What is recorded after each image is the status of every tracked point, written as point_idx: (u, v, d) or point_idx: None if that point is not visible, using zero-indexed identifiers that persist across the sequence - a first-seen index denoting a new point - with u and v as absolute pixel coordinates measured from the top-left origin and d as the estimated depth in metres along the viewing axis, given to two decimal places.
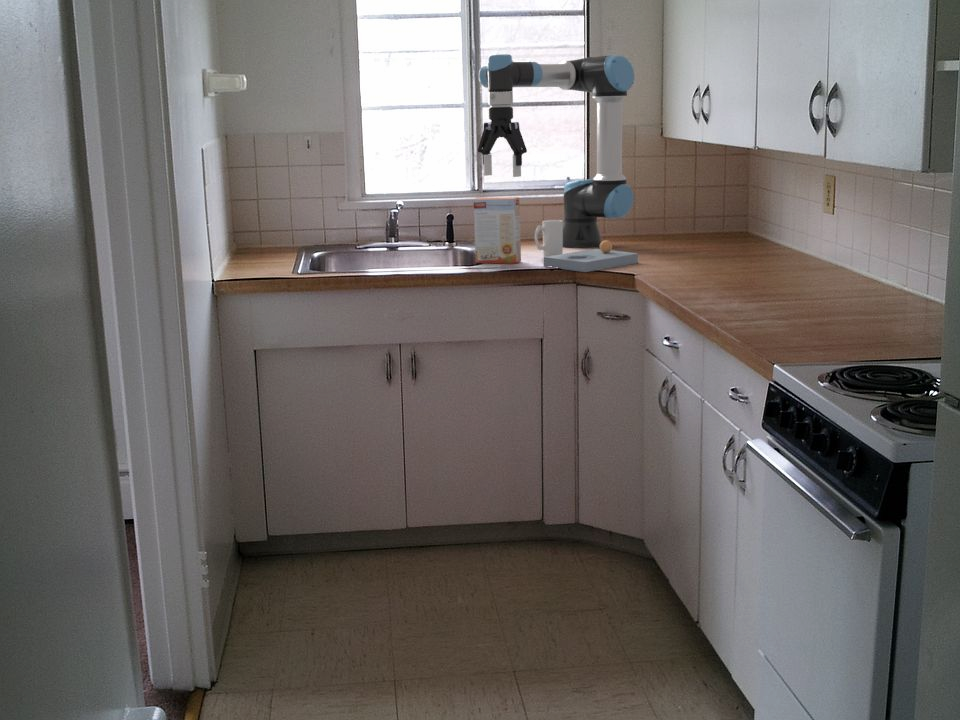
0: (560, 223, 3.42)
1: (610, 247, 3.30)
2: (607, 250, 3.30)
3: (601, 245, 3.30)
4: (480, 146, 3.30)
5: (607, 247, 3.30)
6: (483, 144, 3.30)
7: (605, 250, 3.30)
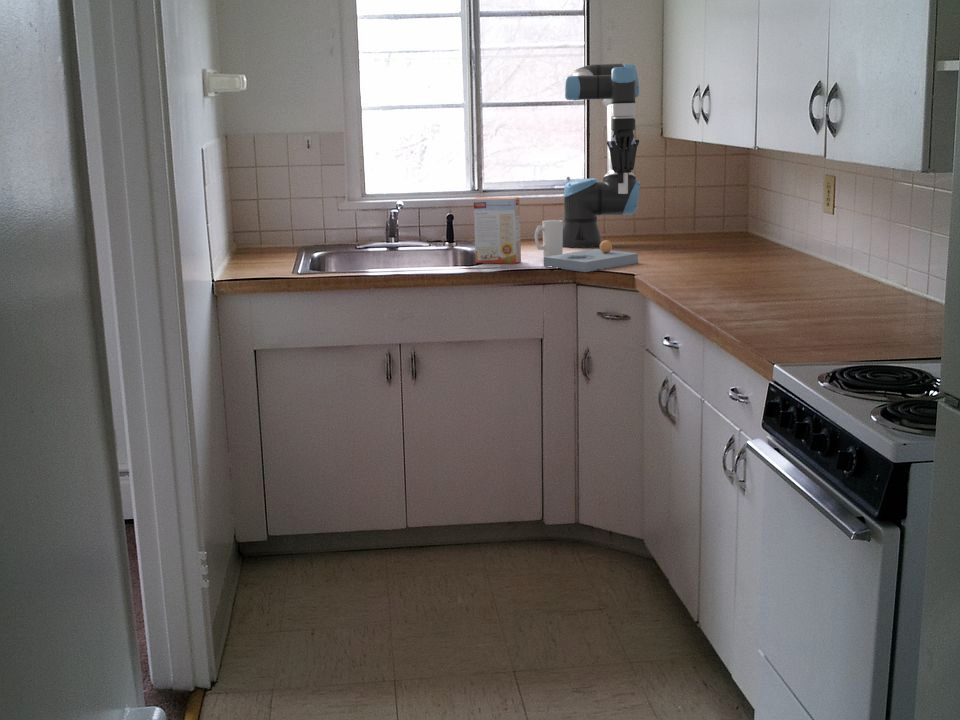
0: (560, 223, 3.42)
1: (610, 247, 3.30)
2: (607, 250, 3.30)
3: (601, 245, 3.30)
4: None
5: (607, 247, 3.30)
6: None
7: (605, 250, 3.30)
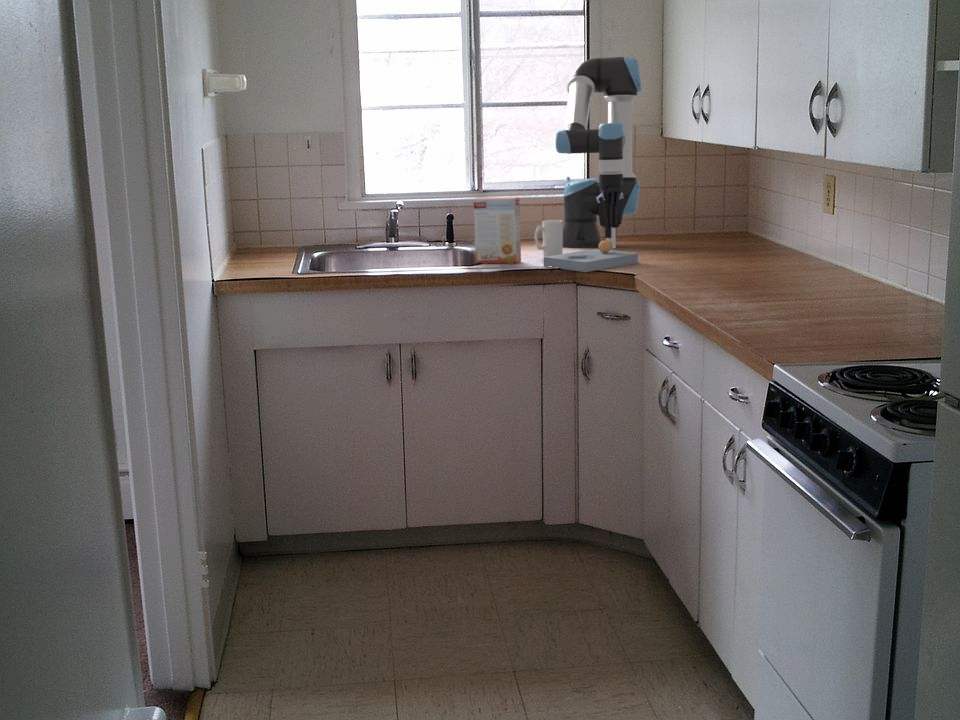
0: (560, 223, 3.42)
1: (609, 247, 3.30)
2: (606, 251, 3.30)
3: (600, 247, 3.30)
4: None
5: (606, 248, 3.29)
6: None
7: (604, 251, 3.30)
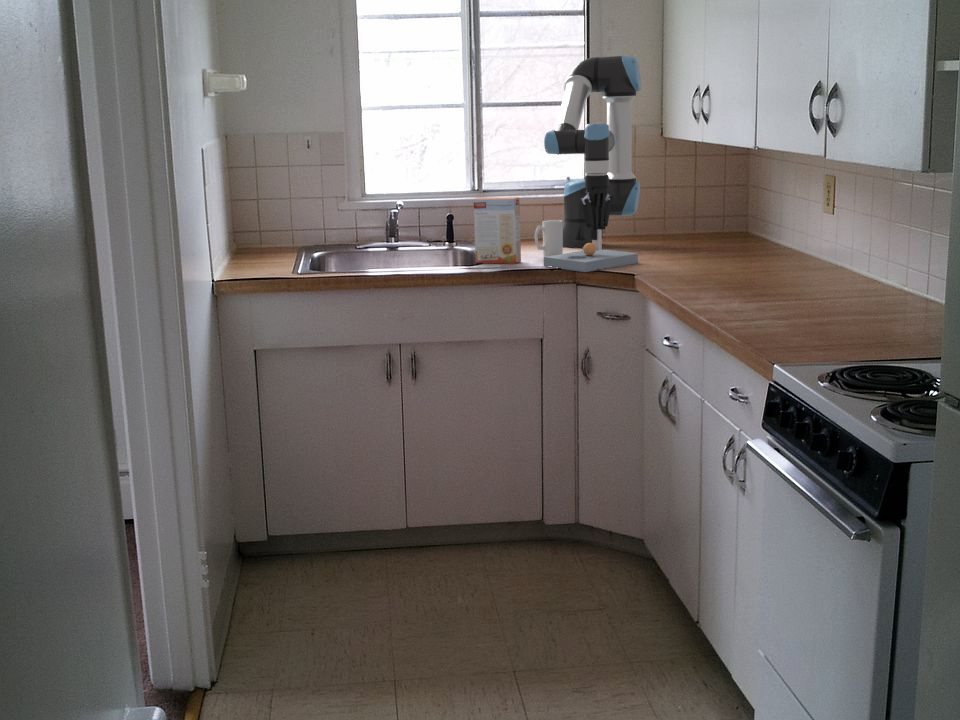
0: (560, 223, 3.42)
1: (594, 249, 3.25)
2: (592, 245, 3.25)
3: None
4: None
5: None
6: None
7: (592, 244, 3.26)
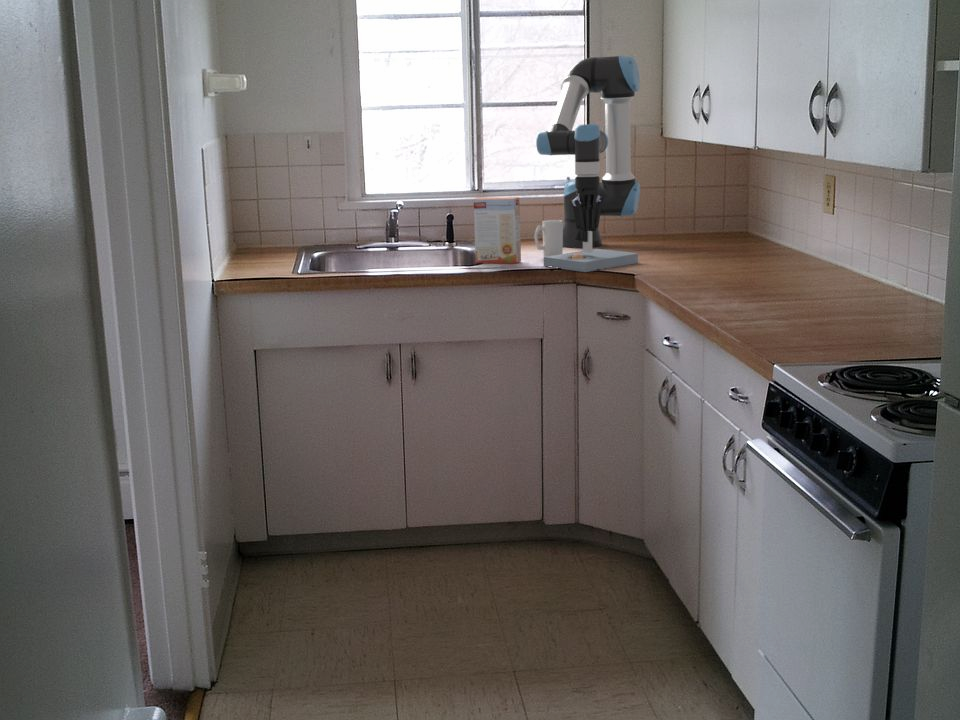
0: (560, 223, 3.42)
1: (582, 258, 3.24)
2: None
3: None
4: None
5: None
6: None
7: None
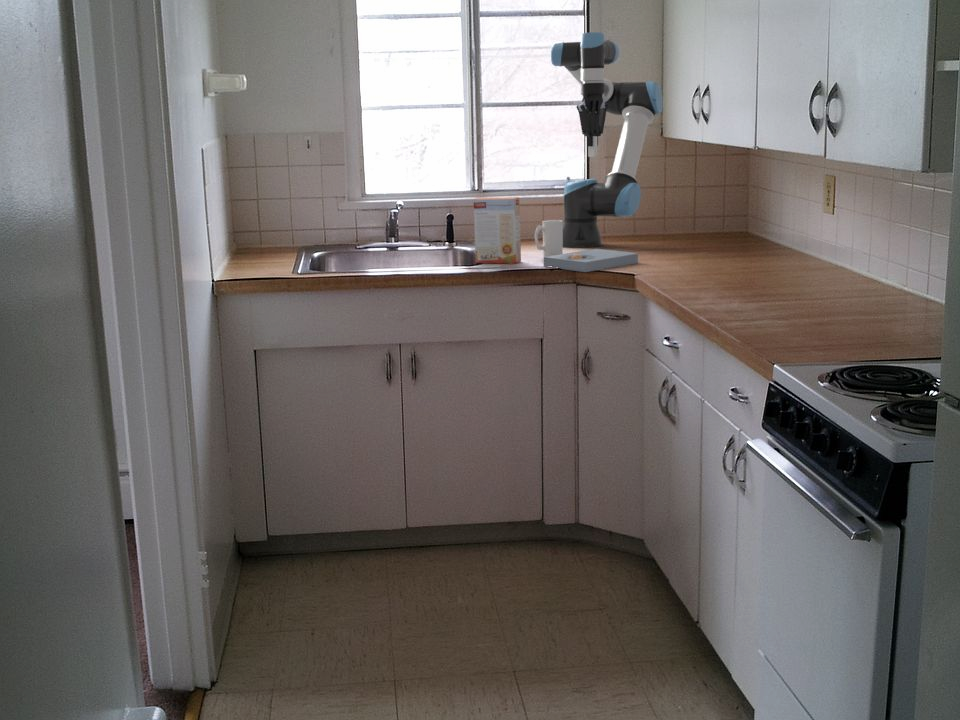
0: (560, 223, 3.42)
1: None
2: None
3: None
4: None
5: None
6: None
7: None
